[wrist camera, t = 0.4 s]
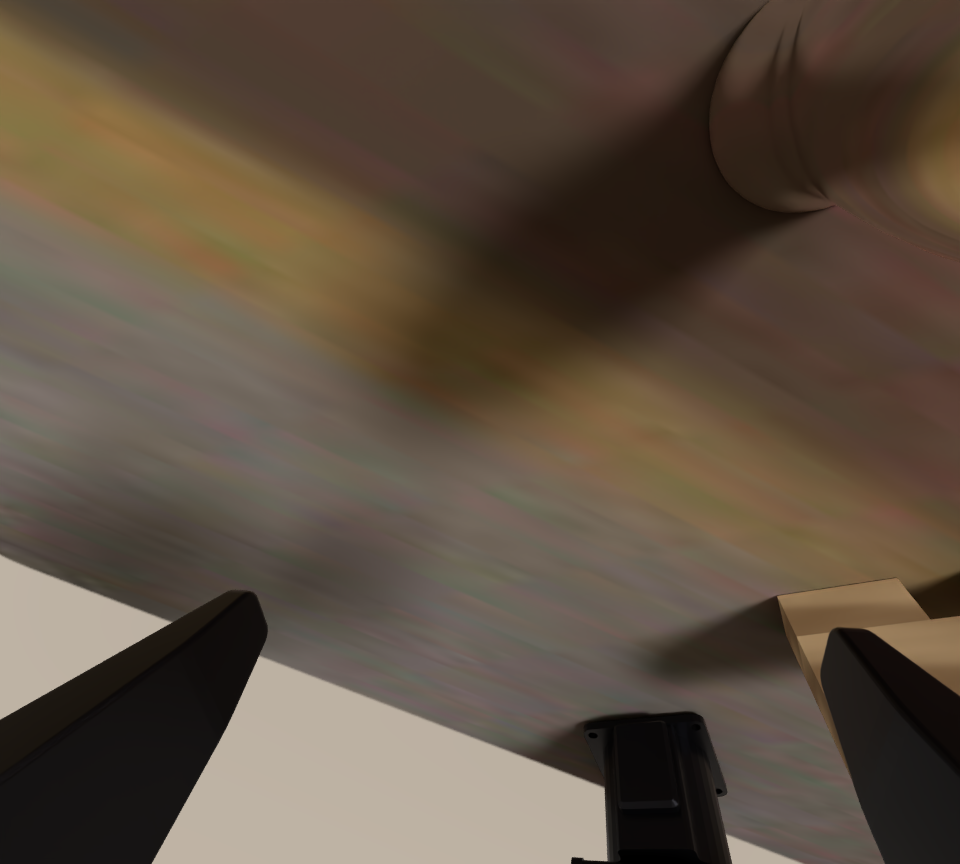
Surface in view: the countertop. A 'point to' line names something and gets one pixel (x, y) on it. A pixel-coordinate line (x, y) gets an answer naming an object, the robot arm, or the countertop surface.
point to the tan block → (880, 609)
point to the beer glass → (847, 114)
